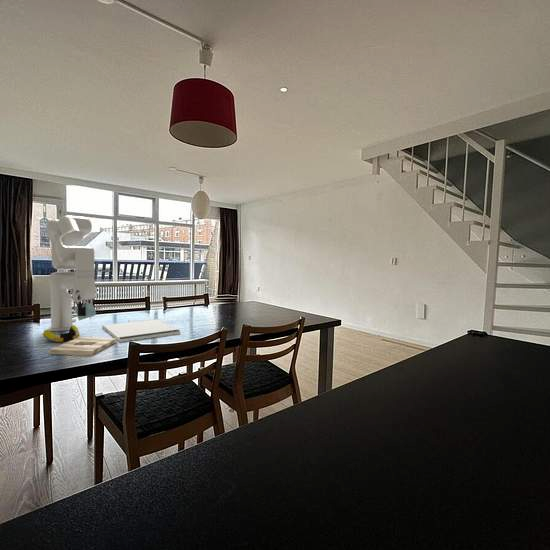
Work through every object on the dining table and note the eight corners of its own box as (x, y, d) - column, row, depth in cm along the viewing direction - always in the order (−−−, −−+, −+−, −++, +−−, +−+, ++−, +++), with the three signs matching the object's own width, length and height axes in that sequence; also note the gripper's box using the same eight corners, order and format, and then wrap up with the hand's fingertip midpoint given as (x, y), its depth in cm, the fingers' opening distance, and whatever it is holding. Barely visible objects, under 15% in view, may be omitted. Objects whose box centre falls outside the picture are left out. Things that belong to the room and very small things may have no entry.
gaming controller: (41, 341, 153) (51, 344, 148) (41, 329, 153) (50, 333, 147) (75, 335, 166) (84, 338, 160) (75, 324, 165) (84, 327, 160)
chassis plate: (80, 340, 155) (80, 336, 155) (116, 342, 154) (116, 338, 154) (50, 353, 135) (49, 349, 135) (91, 355, 134) (91, 351, 134)
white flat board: (180, 330, 175) (119, 338, 155) (180, 334, 175) (119, 343, 155) (156, 319, 201) (102, 324, 181) (156, 322, 202) (102, 329, 181)
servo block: (78, 320, 146) (73, 306, 145) (102, 312, 145) (97, 298, 145) (72, 322, 142) (67, 307, 141) (97, 314, 141) (92, 299, 141)
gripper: (88, 273, 151) (88, 311, 152) (63, 275, 134) (64, 318, 135) (103, 273, 151) (103, 312, 152) (81, 276, 134) (81, 319, 135)
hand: (85, 314), depth 143 cm, fingers closed on servo block, 3 cm apart
